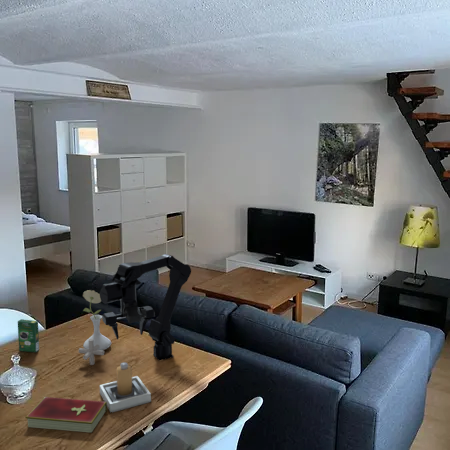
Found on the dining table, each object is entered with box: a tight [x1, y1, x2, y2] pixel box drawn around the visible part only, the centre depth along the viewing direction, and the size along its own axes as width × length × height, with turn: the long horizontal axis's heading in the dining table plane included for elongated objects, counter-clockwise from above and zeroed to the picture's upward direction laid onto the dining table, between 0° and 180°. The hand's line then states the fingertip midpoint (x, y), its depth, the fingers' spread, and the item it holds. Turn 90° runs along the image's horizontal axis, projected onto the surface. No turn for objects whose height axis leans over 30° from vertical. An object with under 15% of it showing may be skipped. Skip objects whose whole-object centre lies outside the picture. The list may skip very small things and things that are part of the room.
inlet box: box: [99, 375, 152, 413], centre depth 160 cm, size 14×14×3 cm
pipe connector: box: [78, 338, 105, 366], centre depth 183 cm, size 10×10×10 cm
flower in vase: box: [82, 289, 112, 351], centre depth 196 cm, size 13×11×25 cm
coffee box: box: [17, 319, 40, 353], centre depth 194 cm, size 8×3×13 cm, turn 79°
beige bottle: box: [115, 362, 135, 399], centre depth 159 cm, size 6×6×12 cm
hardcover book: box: [24, 396, 108, 433], centre depth 147 cm, size 12×21×4 cm, turn 83°
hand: (129, 336), depth 178 cm, fingers open, 9 cm apart
